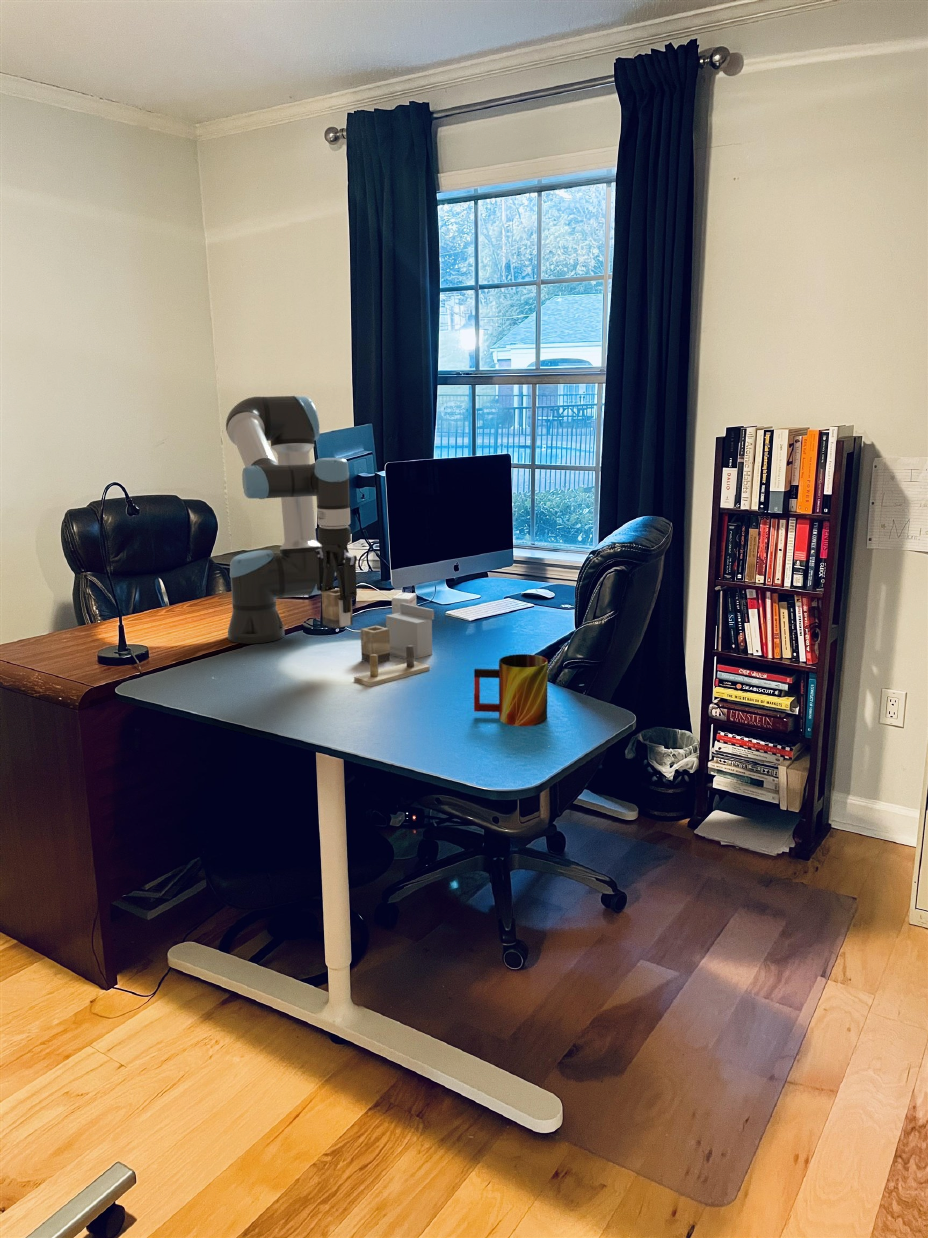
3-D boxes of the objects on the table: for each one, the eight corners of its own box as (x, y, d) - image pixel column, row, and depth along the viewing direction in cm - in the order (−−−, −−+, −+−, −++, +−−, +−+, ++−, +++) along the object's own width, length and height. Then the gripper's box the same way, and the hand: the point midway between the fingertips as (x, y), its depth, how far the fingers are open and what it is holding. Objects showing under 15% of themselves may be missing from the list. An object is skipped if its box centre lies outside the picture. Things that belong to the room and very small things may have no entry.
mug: (472, 715, 182) (472, 658, 179) (535, 708, 186) (536, 652, 183) (488, 731, 173) (488, 671, 170) (554, 723, 177) (555, 664, 174)
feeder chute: (377, 651, 230) (376, 608, 228) (403, 645, 236) (402, 602, 234) (408, 660, 222) (407, 615, 219) (434, 653, 228) (433, 609, 225)
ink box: (410, 641, 240) (409, 598, 237) (392, 641, 241) (390, 598, 238) (418, 634, 248) (417, 592, 245) (400, 633, 249) (399, 591, 246)
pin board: (354, 681, 206) (353, 655, 204) (413, 665, 218) (412, 641, 217) (370, 686, 201) (369, 660, 200) (429, 670, 214) (429, 645, 212)
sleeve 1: (322, 624, 213) (321, 591, 211) (339, 620, 216) (338, 588, 214) (335, 628, 210) (334, 595, 208) (352, 624, 213) (351, 591, 211)
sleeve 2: (361, 660, 223) (360, 629, 221) (377, 656, 226) (376, 625, 224) (374, 664, 219) (373, 632, 217) (390, 660, 222) (389, 628, 221)
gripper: (298, 523, 211) (302, 619, 217) (344, 532, 198) (348, 633, 204) (324, 520, 216) (327, 614, 222) (371, 528, 203) (374, 627, 209)
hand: (337, 623), depth 213 cm, fingers closed on sleeve 1, 5 cm apart
